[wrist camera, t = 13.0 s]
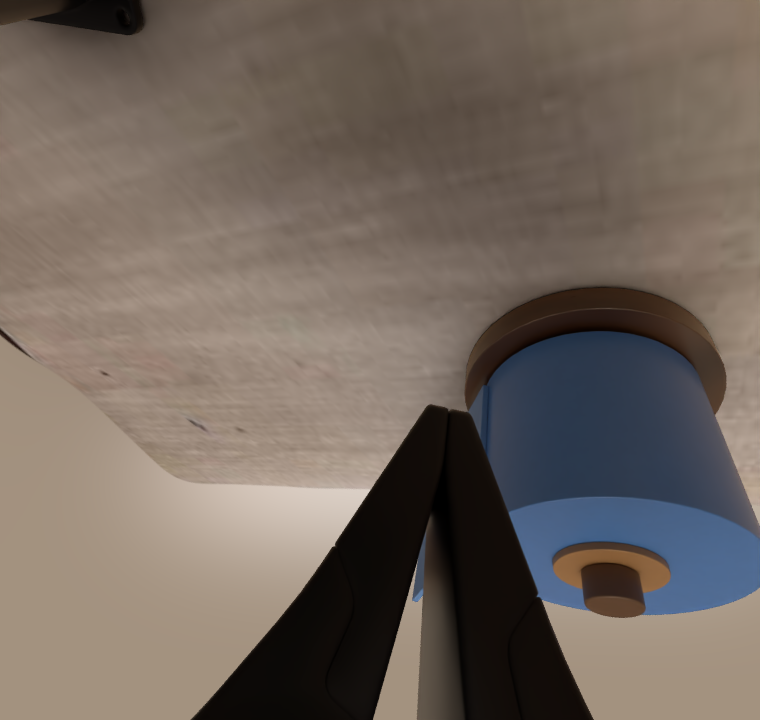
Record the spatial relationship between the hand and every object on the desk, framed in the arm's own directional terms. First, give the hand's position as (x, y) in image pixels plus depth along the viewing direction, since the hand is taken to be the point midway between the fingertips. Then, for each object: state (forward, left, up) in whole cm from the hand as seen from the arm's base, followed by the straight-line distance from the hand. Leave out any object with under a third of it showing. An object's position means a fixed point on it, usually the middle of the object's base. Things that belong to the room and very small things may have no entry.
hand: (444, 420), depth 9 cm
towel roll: (+8, -12, -11) cm, 18 cm away
